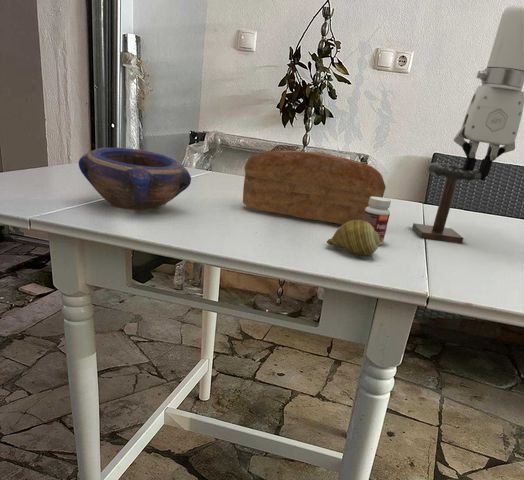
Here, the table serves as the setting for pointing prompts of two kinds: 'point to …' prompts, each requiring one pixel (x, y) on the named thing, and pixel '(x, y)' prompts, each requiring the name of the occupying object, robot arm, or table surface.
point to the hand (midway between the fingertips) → (473, 177)
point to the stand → (441, 218)
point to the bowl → (134, 177)
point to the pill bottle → (378, 215)
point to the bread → (310, 185)
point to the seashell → (356, 238)
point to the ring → (454, 172)
